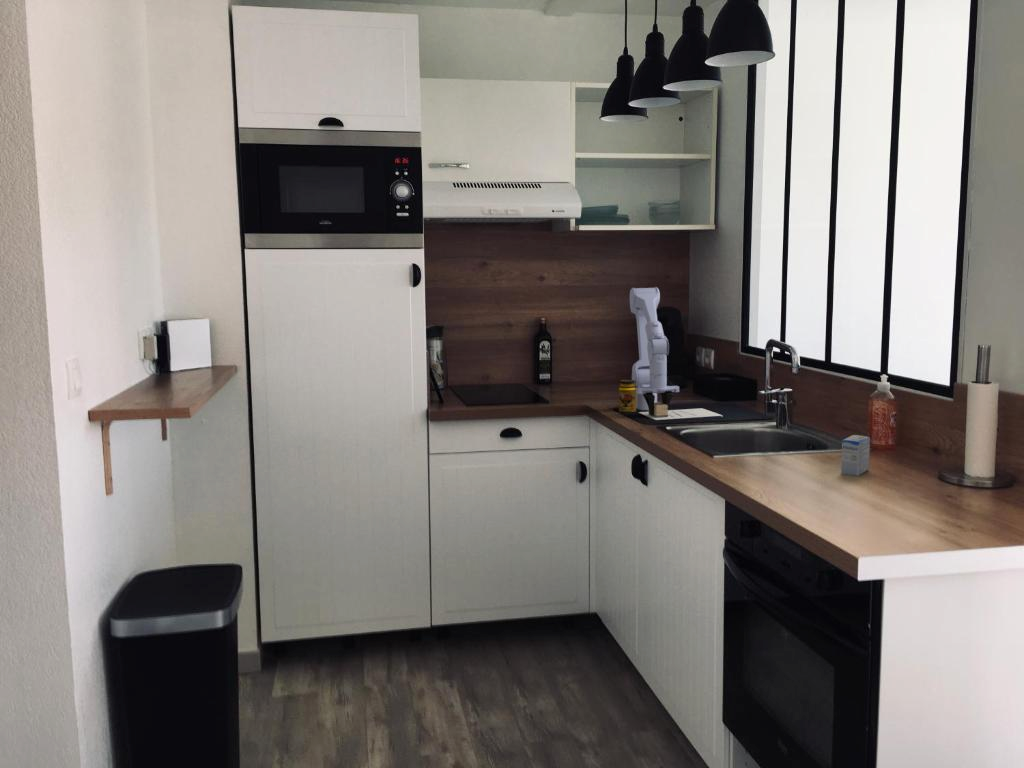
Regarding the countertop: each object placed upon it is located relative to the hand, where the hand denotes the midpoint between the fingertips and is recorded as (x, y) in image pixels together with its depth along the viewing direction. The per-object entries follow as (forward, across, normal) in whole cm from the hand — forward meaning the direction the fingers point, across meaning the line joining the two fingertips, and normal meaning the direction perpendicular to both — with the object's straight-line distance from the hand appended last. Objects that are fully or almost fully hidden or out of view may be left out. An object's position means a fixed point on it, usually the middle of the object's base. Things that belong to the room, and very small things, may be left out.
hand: (658, 414), depth 303 cm
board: (+2, +8, +1) cm, 9 cm away
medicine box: (+2, +17, -87) cm, 89 cm away
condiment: (+2, -6, +15) cm, 16 cm away
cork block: (+1, 0, 0) cm, 1 cm away
